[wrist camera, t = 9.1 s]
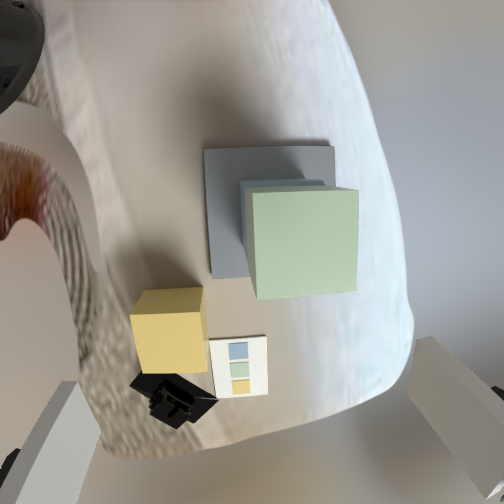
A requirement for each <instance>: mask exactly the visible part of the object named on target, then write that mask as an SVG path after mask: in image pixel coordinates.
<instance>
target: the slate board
mask: <svg viewBox="0 0 504 504" xmlns="http://www.w3.org/2000/svg"><path fill="white" fill-rule="evenodd" d="M204 166H205V184H206V201H207V216H208V230H209V244H210V257H211V269H212V279H223V278H237V277H250V273H249V270H248V262H247V259H246V255H245V252H244V248H243V239H242V219H241V199H240V181H243V180H264V179H295V178H308V179H317V180H326V185H328V186H335V187H336V182H335V149H334V146H260V147H235V148H217V149H204Z"/></svg>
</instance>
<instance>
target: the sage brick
mask: <svg viewBox="0 0 504 504" xmlns="http://www.w3.org/2000/svg"><path fill="white" fill-rule="evenodd" d="M244 189H245V210H246V231H247V251H248V270H249V273H250V277H251V280H252V284H253V287H254V291H255V294H256V298H257V300H267V299H279V298H290V297H301V296H311V295H321V294H331V293H340V292H349V291H356V276H357V256H358V221H359V190H353V189H347V188H341V187H335V186H328V185H305V186H273V187H250V188H244Z"/></svg>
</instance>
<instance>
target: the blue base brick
mask: <svg viewBox="0 0 504 504" xmlns="http://www.w3.org/2000/svg"><path fill="white" fill-rule="evenodd" d="M305 185H326V180H317V179H308V178H295V179H264V180H243V181H240V199H241V219H242V239H243V248H244V252H245V255H246V259H247V262H248V251H247V231H246V210H245V189H244V188H250V187H273V186H305Z"/></svg>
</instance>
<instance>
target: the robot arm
mask: <svg viewBox="0 0 504 504" xmlns="http://www.w3.org/2000/svg"><path fill="white" fill-rule="evenodd" d="M43 42H44V25H43V21H42V19H41V17H40V15H39V14H38V13H37V12H36V11H35V10H34V9H33V8H31V7H30V6H29V5H27V4H25V3H23V2H20V1H12V0H0V114H1V113H2V112H4V111H5V110H6V109H7V108H8V107H9V106H10V105H11V104H12V103H13V102H14V101H15V100H16V99H17V97H18V96H19V95H20V93H21V92H22V91H23V89H24V88H25V86H26V85H27V83H28V81H29V80H30V78H31V76H32V74H33V72H34V70H35V68H36V66H37V63H38V61H39V58H40V55H41V51H42V47H43ZM406 393H407V395H408V396H409V397H410V398H411V400H412V401H413V402H414V404H415V405H416V406H417V408H418V409H419V410H420V411H421V413H422V414H423V415H424V417H425V418H426V419H427V421H428V422H429V423H430V424H431V426H432V427H433V428H434V430H435V431H436V432H437V434H438V435H439V436H440V438H441V439H442V440H443V442H444V443H445V444H446V446H447V447H448V448H449V450H450V451H451V452H452V454H453V455H454V456H455V458H456V459H457V461H458V462H459V463H460V465H461V466H462V467H463V469H464V470H465V471H466V473H467V474H468V476H469V477H470V478H471V480H472V481H473V482H474V484H475V485H476V486H477V488H478V489H479V491H480V492H481V494H482V495H483V497H484V498H485V499H488V498H489V497H491V496H492V495H494V494H495V493H497V492H498V491H500V490H501V489H502V488H503V487H504V390H502V389H500V388H498V387H496V386H494V387H492V388H489V387H488V386H487V385H486V384H485V383H484V382H483V381H482V380H481V379H479V378H478V377H477V376H476V375H475V374H474V373H473V372H472V371H471V370H469V369H468V368H467V367H466V366H465V365H464V364H463V363H462V362H461V361H460V360H458V359H457V358H456V357H455V356H454V355H453V354H452V353H451V352H449V351H448V350H447V349H446V348H445V347H444V346H442V345H441V344H440V343H439V342H438V341H437V340H436V339H435V338H433V337H432V336H428V337H425V338H421V339H418V340H416V344H415V350H414V356H413V361H412V367H411V372H410V377H409V382H408V386H407V391H406ZM100 434H101V430H100V428H99V426H98V424H97V422H96V420H95V418H94V416H93V414H92V412H91V410H90V408H89V406H88V404H87V401H86V399H85V397H84V395H83V393H82V390H81V388H80V386H79V383H78V382H75V381H62V382H61V383H60V385H59V386H58V388H57V390H56V391H55V393H54V394H53V396H52V398H51V399H50V401H49V402H48V404H47V406H46V407H45V409H44V411H43V412H42V414H41V416H40V417H39V419H38V421H37V422H36V424H35V426H34V427H33V429H32V431H31V433H30V435H29V436H28V438H27V440H26V441H25V443H24V445H23V447H22V449H18V448H16V449H15V450H14V451H13V452H11V453H10V454H9V455H8V456H7V457H6V459H5V461H4V463H3V465H2V466H1V467H2V469H0V504H77V500H78V497H79V494H80V491H81V488H82V485H83V482H84V479H85V476H86V473H87V470H88V467H89V464H90V461H91V458H92V455H93V453H94V449H95V447H96V444H97V442H98V439H99V436H100ZM503 501H504V495H503V496H502V498H501V501H500V502H503Z"/></svg>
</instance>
